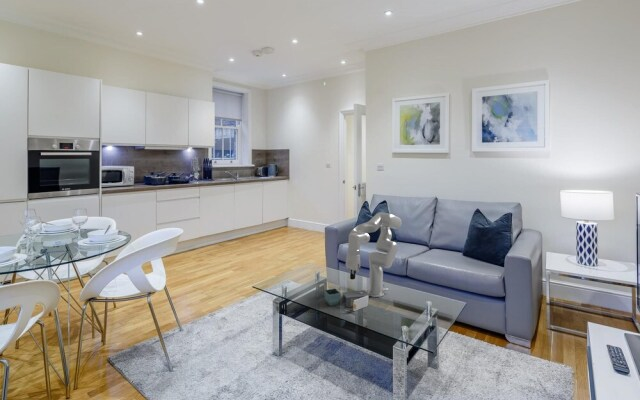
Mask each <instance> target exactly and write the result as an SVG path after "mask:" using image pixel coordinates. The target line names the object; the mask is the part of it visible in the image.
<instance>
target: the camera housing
mask: <svg viewBox="0 0 640 400" xmlns="http://www.w3.org/2000/svg"><path fill="white" fill-rule="evenodd" d="M365 296H369V295H368V294H367V291H365V290H364V289H362V290H354V291H353V290H351V291H343V292H342V297H341V303H342V304H343V305H344V306H345V308H353V301H354V300H357V299H360V298H362V297H365ZM369 297H370V296H369ZM369 301H370V300H369ZM369 301H368V306H369V304H370V303H369Z"/></svg>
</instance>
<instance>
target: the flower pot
mask: <svg viewBox="0 0 640 400" xmlns="http://www.w3.org/2000/svg"><path fill="white" fill-rule="evenodd" d="M323 293H324V294H323V295H324V299H325V301H326V302H327V304H328V305H329V306H330V307H331V306H336V305H338V304H339V302H340V299H341V292H340V291H339V290H338V289H337V288H330V289H325V290H323Z"/></svg>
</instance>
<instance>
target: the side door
mask: <svg viewBox="0 0 640 400" xmlns="http://www.w3.org/2000/svg"><path fill="white" fill-rule="evenodd" d="M368 301H370V296H365V297H362V298H360V299H357V300H354V301H353V307H352V308H353V309H352V311H353V312H356V311H358V310H361V309H364V308H366V307H368V306H369V305H368Z"/></svg>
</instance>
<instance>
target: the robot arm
mask: <svg viewBox="0 0 640 400" xmlns="http://www.w3.org/2000/svg"><path fill="white" fill-rule="evenodd" d="M402 223H403V222H402V219H401V218H400V217H398V216H397V215H394V214H392V213H387V212H376V214H375V215H374V216H373V217H372V218H370V219H369V221H367V222H364V223H360V224H358V225H356V226H355V227H354V228H353V229H351V231H350V233H349V234H348V244H347V245H348V249H347V254H346V256H345V267H346V269H348V270H349V275H350V276H349V279H350V280H355V279H356V274H357V273H360V270H361V255H360V251H361V249H360V248H361V245H365V244H368V243H369V242H370V239H371V236H370V235H369V233H375V232H376V231H378V230H379V229H380V234H379V237H378V239H377V241H376V244H375V250H376V251H372V252H370V253H369V254H368V262H369V281H368V282H369V283H368V285H369V286H368V288H369V289H368V290H367V291H366V293H367V294H368V295H369V297H373V298H380V297H384V295H385V292H389V288H388V287H387V288H386V287H383V282H384V281H383V277H384V276H383V275H384V271H383V270H384V269H383V268H385V269H389V268H391V267H392V265H393V263H394V260H395V259H396V255H397V252H398V243H397V242H395V241H393V240H391V239H392V237H393V234H392V231H391V229H395V230H398V229H400V228H401V227H402V225H403V224H402ZM377 251H378V252H377Z"/></svg>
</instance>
